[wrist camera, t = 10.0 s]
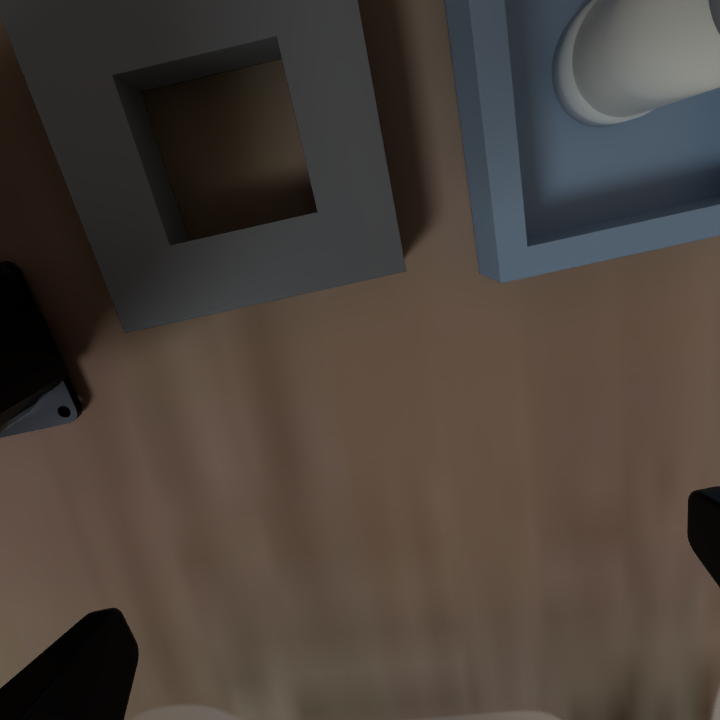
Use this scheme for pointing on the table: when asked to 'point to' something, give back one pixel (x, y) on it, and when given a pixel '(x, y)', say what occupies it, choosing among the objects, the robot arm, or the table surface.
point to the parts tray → (569, 152)
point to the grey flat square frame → (145, 165)
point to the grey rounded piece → (635, 57)
